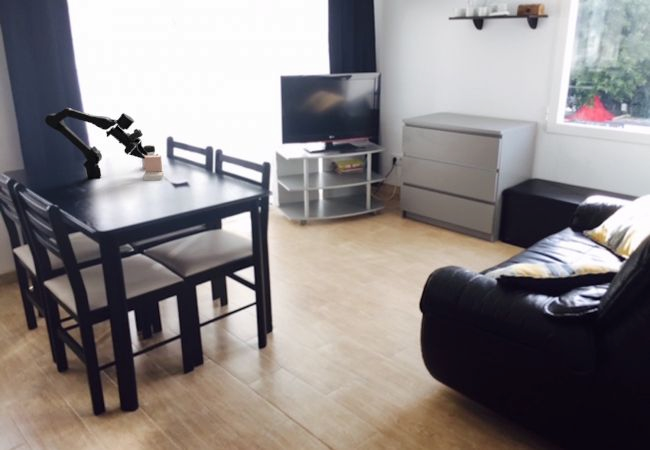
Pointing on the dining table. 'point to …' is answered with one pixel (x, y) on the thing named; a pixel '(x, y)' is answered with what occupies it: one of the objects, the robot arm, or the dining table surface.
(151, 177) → the board
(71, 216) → the dining table surface
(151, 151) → the medicine bottle
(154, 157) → the pink rectangular block
